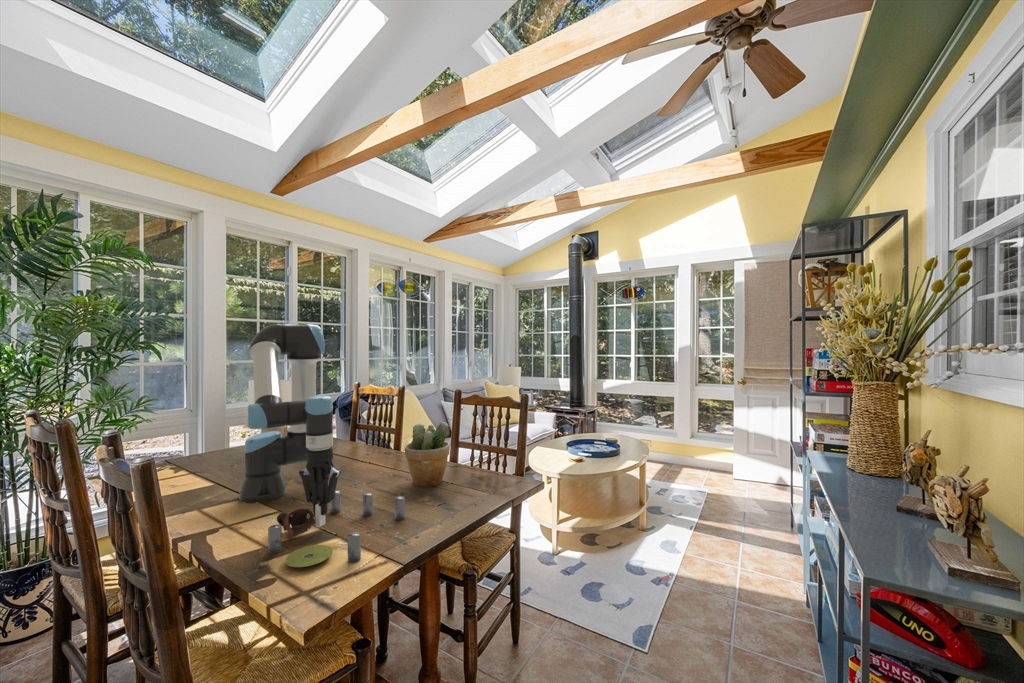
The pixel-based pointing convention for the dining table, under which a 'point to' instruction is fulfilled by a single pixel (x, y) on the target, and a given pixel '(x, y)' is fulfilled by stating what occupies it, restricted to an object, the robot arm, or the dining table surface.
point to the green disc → (308, 556)
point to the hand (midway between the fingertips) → (320, 525)
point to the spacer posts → (353, 537)
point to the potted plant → (428, 454)
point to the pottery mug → (296, 521)
